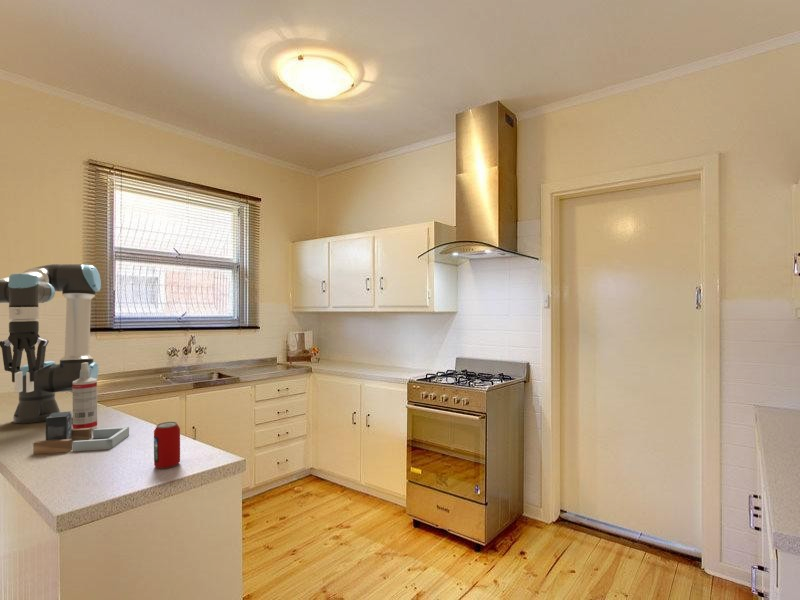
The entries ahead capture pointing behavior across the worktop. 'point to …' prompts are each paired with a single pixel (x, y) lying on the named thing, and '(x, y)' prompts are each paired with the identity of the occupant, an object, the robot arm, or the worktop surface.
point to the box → (59, 426)
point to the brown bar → (61, 442)
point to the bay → (111, 433)
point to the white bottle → (85, 400)
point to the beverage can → (166, 445)
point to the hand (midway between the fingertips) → (24, 391)
